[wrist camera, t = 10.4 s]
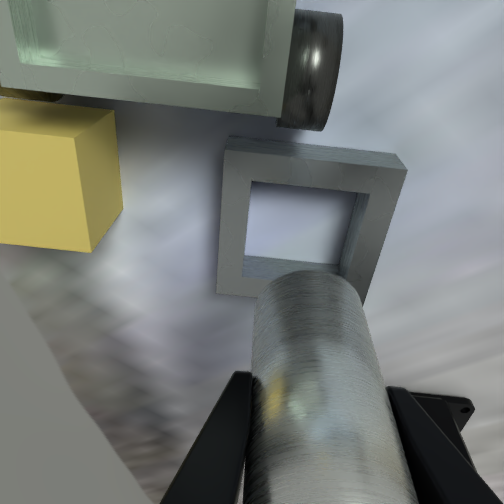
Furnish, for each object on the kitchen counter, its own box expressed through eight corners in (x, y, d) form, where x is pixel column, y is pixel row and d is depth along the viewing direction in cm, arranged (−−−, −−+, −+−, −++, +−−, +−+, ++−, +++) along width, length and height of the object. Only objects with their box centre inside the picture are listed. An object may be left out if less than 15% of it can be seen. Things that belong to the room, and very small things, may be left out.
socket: (355, 285, 18) (362, 308, 17) (220, 271, 18) (215, 293, 17) (395, 154, 15) (407, 169, 13) (228, 135, 14) (224, 149, 13)
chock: (124, 207, 17) (91, 252, 14) (28, 197, 16) (-25, 240, 14) (115, 109, 14) (74, 138, 11) (5, 97, 14) (-65, 122, 11)
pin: (347, 355, 12) (444, 816, 5) (249, 344, 12) (218, 796, 5) (374, 276, 10) (563, 799, 4) (260, 264, 10) (235, 770, 4)
